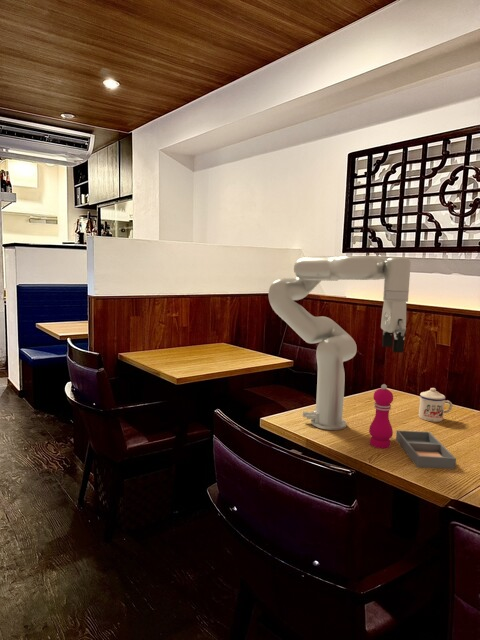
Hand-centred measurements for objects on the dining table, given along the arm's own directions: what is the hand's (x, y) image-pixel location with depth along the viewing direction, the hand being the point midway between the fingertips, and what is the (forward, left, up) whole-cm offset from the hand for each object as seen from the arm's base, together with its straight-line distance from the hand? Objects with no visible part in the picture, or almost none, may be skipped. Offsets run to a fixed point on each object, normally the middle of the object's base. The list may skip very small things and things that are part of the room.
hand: (392, 349), depth 146 cm
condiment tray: (+9, -9, -31) cm, 33 cm away
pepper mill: (-3, -4, -31) cm, 31 cm away
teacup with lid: (+25, +25, -31) cm, 47 cm away
